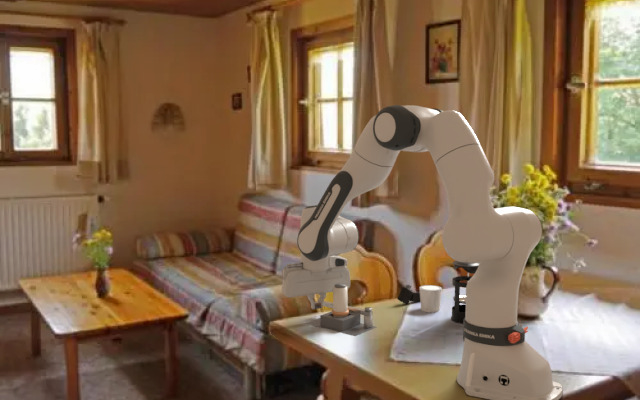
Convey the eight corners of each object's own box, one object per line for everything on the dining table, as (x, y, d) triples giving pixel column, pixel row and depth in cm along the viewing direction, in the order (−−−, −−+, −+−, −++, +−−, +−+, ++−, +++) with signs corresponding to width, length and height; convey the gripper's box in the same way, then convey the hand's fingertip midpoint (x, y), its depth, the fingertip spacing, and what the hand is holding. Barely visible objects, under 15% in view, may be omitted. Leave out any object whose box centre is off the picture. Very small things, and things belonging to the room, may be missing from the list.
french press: (466, 327, 190) (467, 246, 188) (442, 319, 198) (443, 241, 195) (494, 319, 197) (496, 242, 194) (470, 312, 205) (472, 237, 202)
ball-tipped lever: (373, 315, 188) (373, 308, 188) (369, 316, 186) (369, 309, 186) (323, 304, 199) (323, 297, 199) (319, 305, 198) (318, 298, 198)
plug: (352, 324, 190) (352, 284, 189) (341, 328, 187) (341, 287, 185) (339, 321, 193) (338, 281, 192) (328, 325, 190) (328, 285, 188)
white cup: (430, 314, 203) (430, 291, 202) (414, 309, 209) (414, 286, 208) (446, 310, 207) (446, 287, 206) (430, 305, 213) (430, 283, 212)
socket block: (377, 330, 188) (377, 315, 188) (355, 339, 180) (355, 324, 180) (326, 318, 200) (326, 304, 199) (304, 326, 192) (304, 312, 191)
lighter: (412, 309, 218) (419, 293, 219) (417, 310, 216) (424, 294, 217) (395, 298, 213) (402, 282, 214) (400, 299, 211) (407, 283, 213)
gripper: (286, 266, 185) (287, 316, 187) (352, 259, 194) (352, 306, 195) (278, 262, 191) (278, 310, 192) (342, 255, 199) (342, 301, 201)
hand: (316, 308), depth 194 cm, fingers closed
